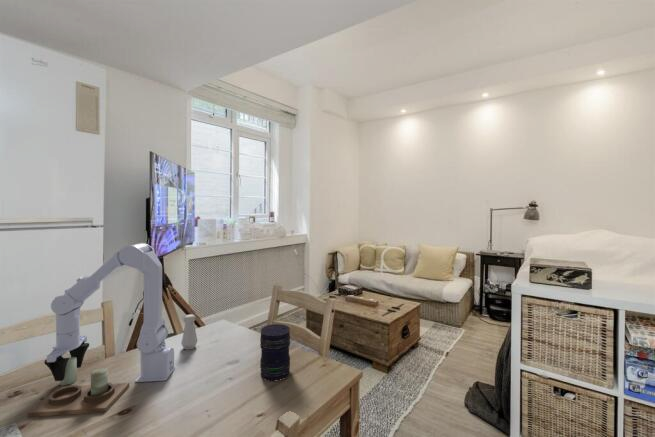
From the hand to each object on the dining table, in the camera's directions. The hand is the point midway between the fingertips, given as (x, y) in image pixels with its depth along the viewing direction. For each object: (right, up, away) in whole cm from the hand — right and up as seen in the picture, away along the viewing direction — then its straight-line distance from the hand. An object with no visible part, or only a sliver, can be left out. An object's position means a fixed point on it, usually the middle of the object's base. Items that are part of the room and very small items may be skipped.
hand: (68, 373), depth 96 cm
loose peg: (0, -3, 0) cm, 3 cm away
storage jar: (+65, -3, +6) cm, 65 cm away
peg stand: (+12, -3, -10) cm, 16 cm away
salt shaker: (+27, -2, +24) cm, 37 cm away
